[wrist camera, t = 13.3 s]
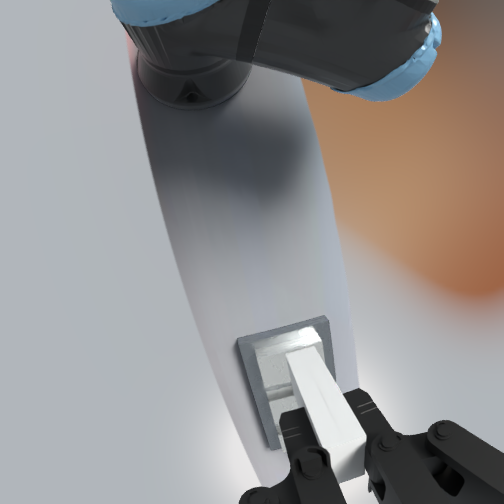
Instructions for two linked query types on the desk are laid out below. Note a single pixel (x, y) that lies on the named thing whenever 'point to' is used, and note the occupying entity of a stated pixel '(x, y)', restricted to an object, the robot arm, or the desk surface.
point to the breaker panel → (278, 338)
